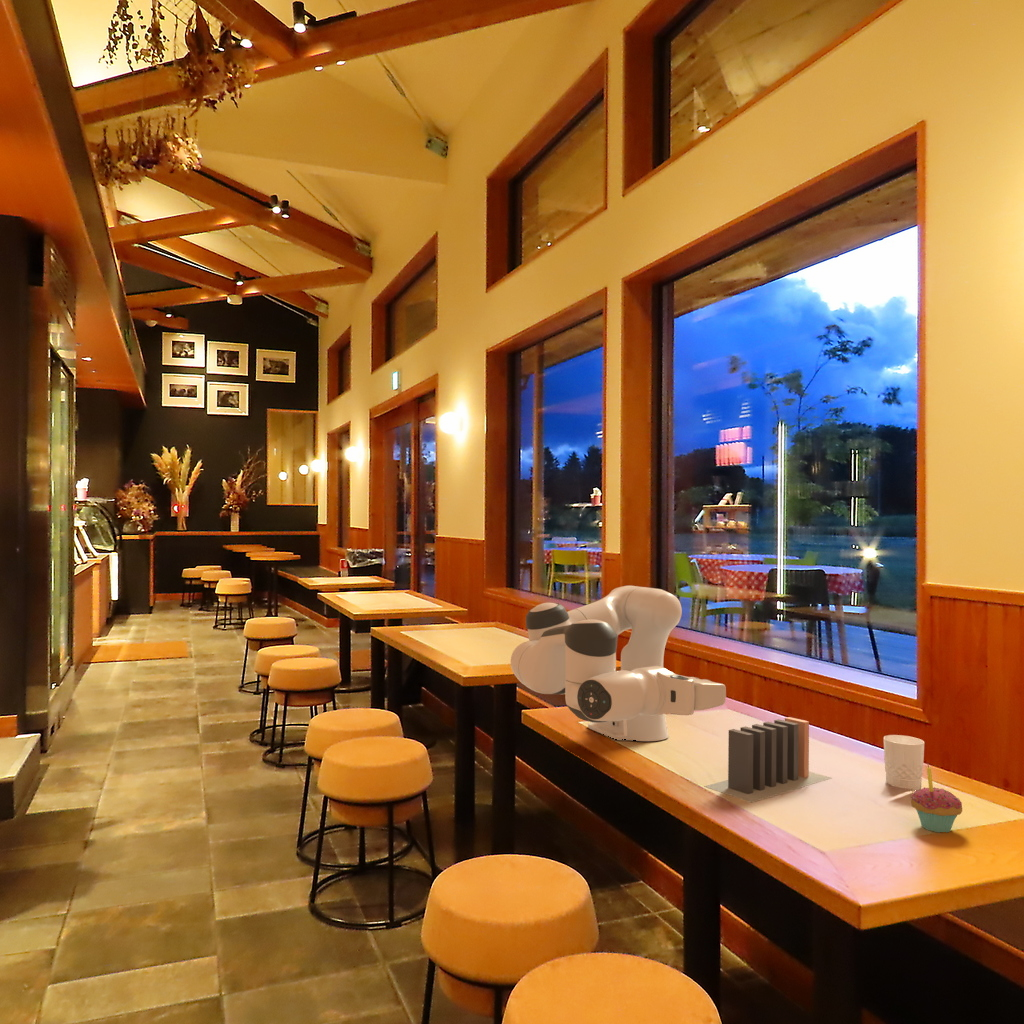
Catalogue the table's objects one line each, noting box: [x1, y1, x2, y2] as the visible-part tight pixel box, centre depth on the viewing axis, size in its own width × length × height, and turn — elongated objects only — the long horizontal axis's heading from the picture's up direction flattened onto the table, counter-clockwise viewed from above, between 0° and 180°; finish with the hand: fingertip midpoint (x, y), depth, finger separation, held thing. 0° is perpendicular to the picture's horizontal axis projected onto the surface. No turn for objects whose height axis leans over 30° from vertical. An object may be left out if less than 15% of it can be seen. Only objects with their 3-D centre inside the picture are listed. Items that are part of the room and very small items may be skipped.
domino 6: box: [784, 716, 810, 778], centre depth 180 cm, size 5×2×12 cm, turn 37°
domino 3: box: [751, 723, 777, 787], centre depth 173 cm, size 5×2×12 cm, turn 37°
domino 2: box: [739, 726, 765, 791], centre depth 170 cm, size 5×2×12 cm, turn 37°
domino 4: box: [762, 721, 788, 784], centre depth 175 cm, size 5×2×12 cm, turn 37°
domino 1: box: [727, 728, 753, 794], centre depth 168 cm, size 5×2×12 cm, turn 37°
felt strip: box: [704, 771, 832, 803], centre depth 174 cm, size 12×28×1 cm, turn 127°
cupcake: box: [910, 763, 963, 833], centre depth 150 cm, size 9×8×12 cm
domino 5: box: [773, 718, 798, 781], centre depth 177 cm, size 5×2×12 cm, turn 37°
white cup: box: [883, 734, 925, 792], centre depth 174 cm, size 8×8×10 cm
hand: (702, 682), depth 161 cm, fingers closed
